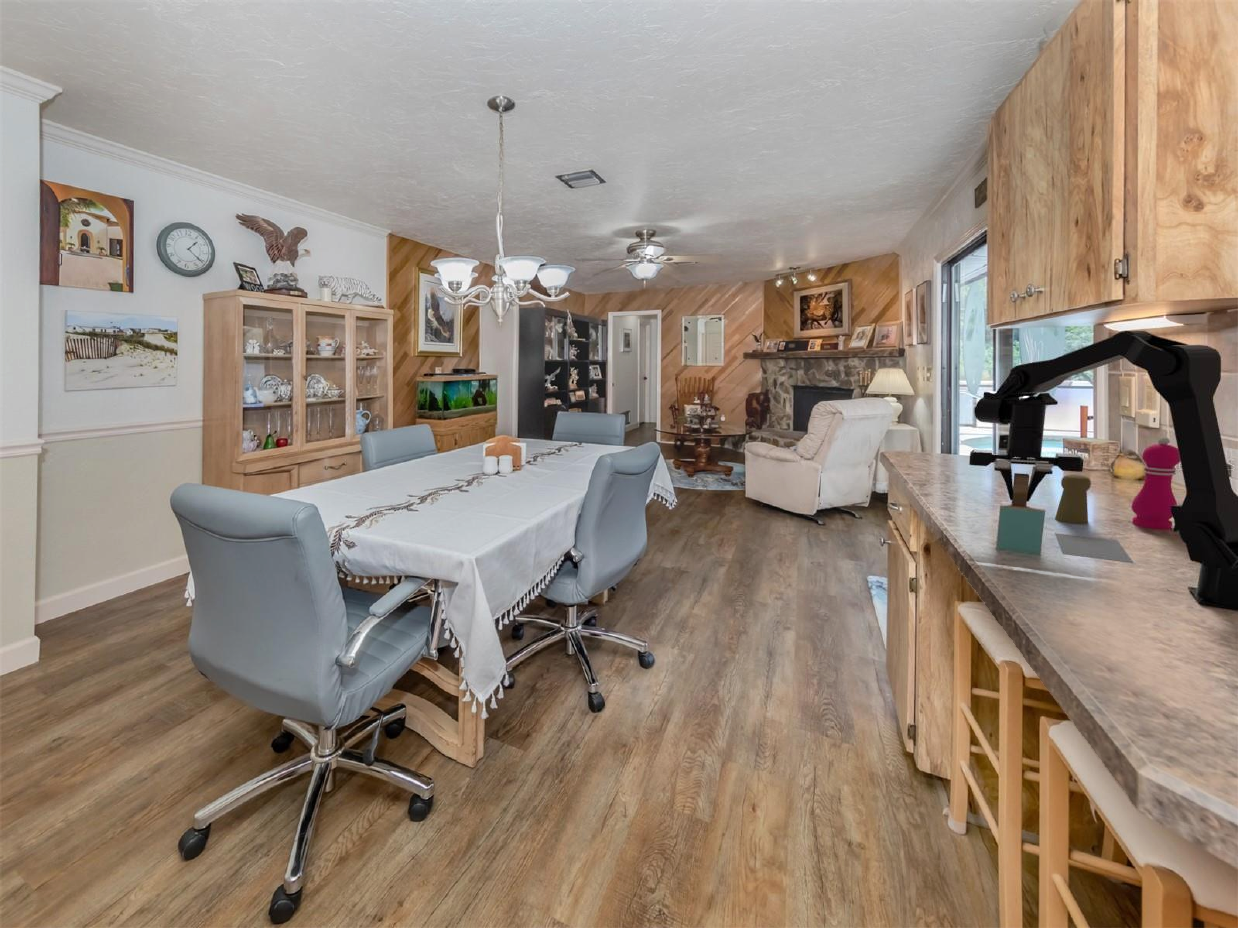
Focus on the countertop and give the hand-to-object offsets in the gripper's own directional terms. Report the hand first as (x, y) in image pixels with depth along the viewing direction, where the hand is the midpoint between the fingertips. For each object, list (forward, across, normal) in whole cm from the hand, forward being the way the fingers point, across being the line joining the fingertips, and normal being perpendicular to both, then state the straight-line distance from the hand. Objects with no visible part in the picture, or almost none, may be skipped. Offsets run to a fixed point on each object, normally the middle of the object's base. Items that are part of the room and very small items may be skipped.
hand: (1019, 500), depth 116 cm
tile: (+8, 0, +12) cm, 14 cm away
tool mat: (+8, -12, +3) cm, 15 cm away
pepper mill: (+8, -25, -21) cm, 34 cm away
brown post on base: (+2, 0, +3) cm, 3 cm away
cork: (+8, -11, -18) cm, 23 cm away
